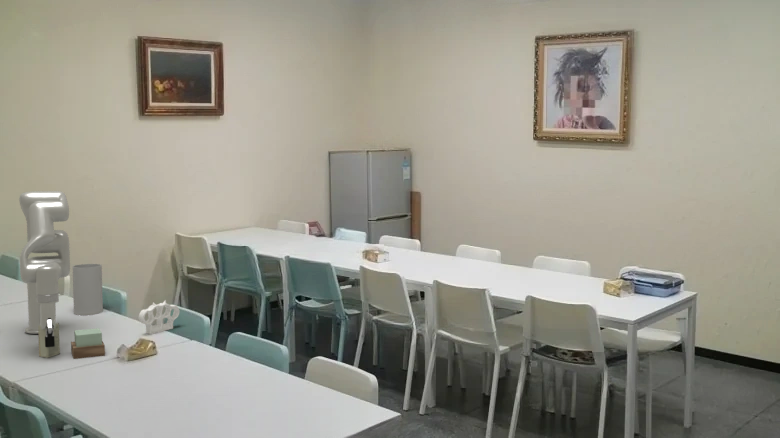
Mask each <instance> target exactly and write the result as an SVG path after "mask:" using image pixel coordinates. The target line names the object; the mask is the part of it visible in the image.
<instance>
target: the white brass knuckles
mask: <svg viewBox="0 0 780 438" xmlns="http://www.w3.org/2000/svg"><path fill="white" fill-rule="evenodd" d="M164 308H165V311H164V313H163V310H164ZM155 310H156V314H155V315H154V311H155ZM172 310H173V313H172V315H171V312H172ZM146 315H147V316H148V317H147V320H146V319H145V317H146ZM179 316H180V308H179V306H177V305H176V304H169V303H167V300H163V302H160V303H158V304H156V303H155V302H154V301H153V302H152V304H151V305H149V306H148V307H147V308H145V309H141V311H140V312H139V314H138V320H139V322H140V323H141V324H144V325H145V328H146V329H145V333H146V334H147V335H154V334H157V333H162V332H164V331H168V330H173V329H174V321H175V320H176V319H177V318H179ZM164 319H167V321H166V323H163V322H164ZM155 320H156V324H154V325H152V324H153V323H154V321H155Z"/></svg>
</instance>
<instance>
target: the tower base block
mask: <svg viewBox="0 0 780 438" xmlns="http://www.w3.org/2000/svg"><path fill="white" fill-rule="evenodd" d="M103 341H104V340H102V345H94V346H84V347H76V344H75V340H74V341H70V347H71V348H70V351H71V355H72V358H73V360H78V359H86V358H95V357H105V355H106V349H105V347H106V346H105V343H104V342H103Z"/></svg>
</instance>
